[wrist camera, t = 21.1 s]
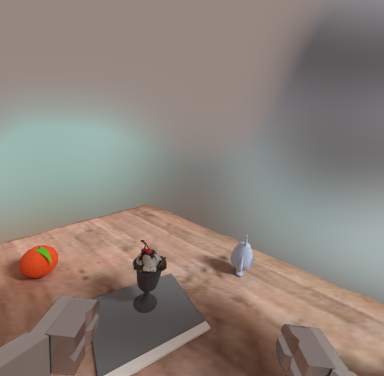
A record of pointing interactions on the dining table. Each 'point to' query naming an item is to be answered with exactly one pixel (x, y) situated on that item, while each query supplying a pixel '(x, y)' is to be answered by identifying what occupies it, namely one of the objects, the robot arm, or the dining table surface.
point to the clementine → (38, 261)
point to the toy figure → (242, 257)
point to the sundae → (148, 277)
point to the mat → (143, 327)
